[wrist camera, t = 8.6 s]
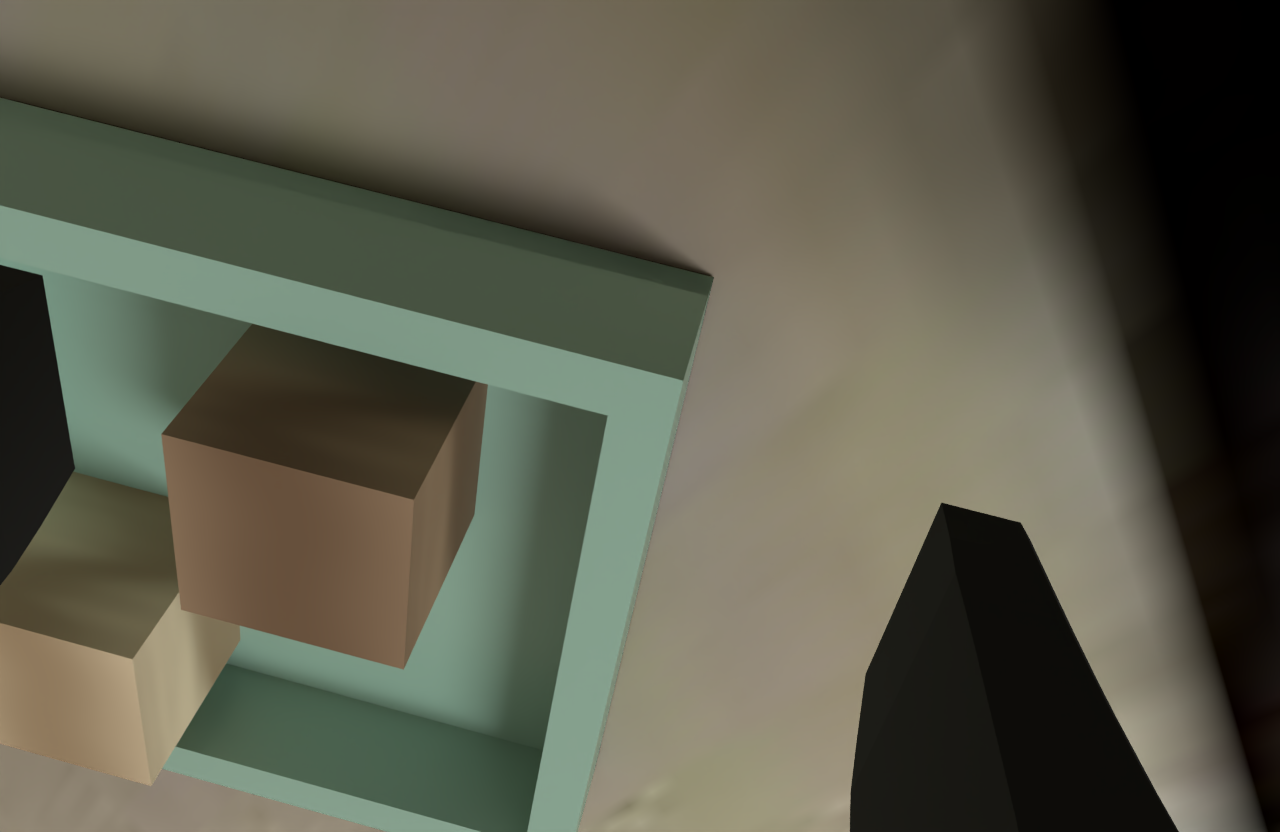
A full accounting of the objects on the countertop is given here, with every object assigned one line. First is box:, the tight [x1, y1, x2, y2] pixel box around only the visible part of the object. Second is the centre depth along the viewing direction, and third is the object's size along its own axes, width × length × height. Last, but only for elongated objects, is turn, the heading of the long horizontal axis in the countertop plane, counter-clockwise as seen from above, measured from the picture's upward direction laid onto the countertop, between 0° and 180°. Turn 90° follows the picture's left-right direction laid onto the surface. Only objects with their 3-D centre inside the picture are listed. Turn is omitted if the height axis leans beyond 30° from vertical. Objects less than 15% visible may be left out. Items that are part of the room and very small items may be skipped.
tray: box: [0, 98, 714, 832], centre depth 24 cm, size 14×14×3 cm
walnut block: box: [161, 324, 488, 670], centre depth 21 cm, size 4×4×4 cm
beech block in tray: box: [0, 472, 240, 786], centre depth 25 cm, size 4×4×4 cm
